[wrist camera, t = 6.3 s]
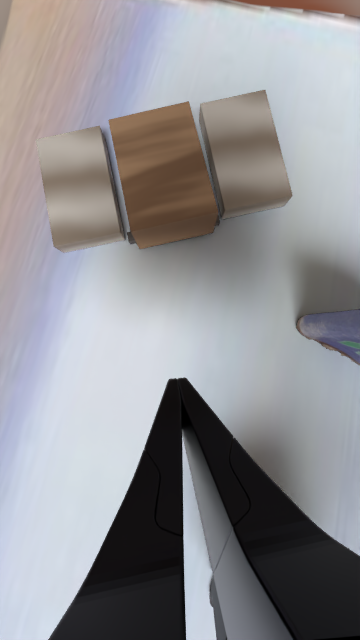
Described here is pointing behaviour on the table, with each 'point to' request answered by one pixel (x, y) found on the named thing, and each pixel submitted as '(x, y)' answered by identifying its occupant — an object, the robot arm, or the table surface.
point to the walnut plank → (163, 175)
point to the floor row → (223, 155)
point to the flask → (334, 331)
